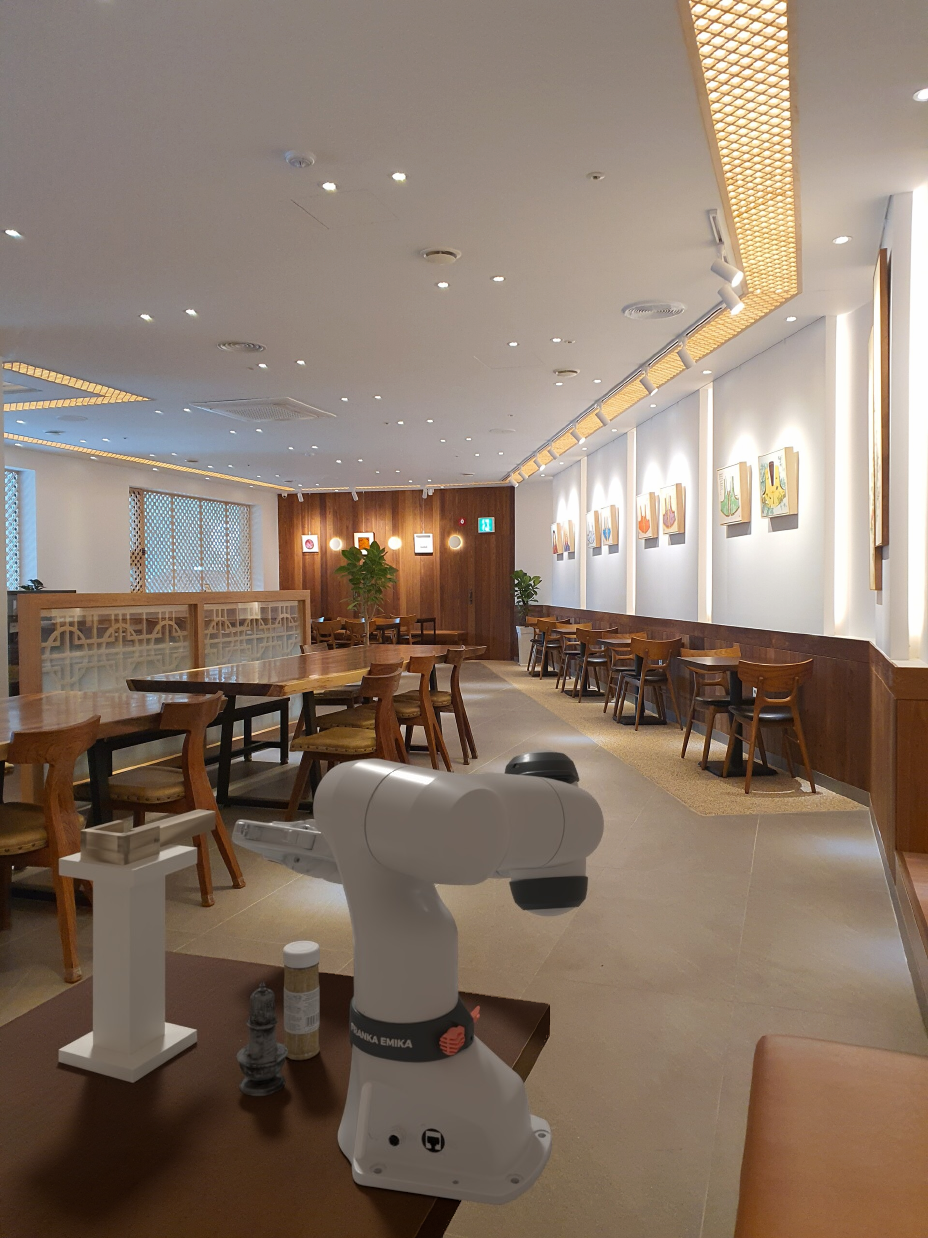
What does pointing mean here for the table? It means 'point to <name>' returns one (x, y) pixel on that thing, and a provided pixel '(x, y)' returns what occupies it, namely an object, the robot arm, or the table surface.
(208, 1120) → the table surface
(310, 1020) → the sprinkles bottle
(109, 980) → the pedestal shelf
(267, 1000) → the dark tall tiered piece
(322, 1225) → the table surface
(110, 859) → the scoop
